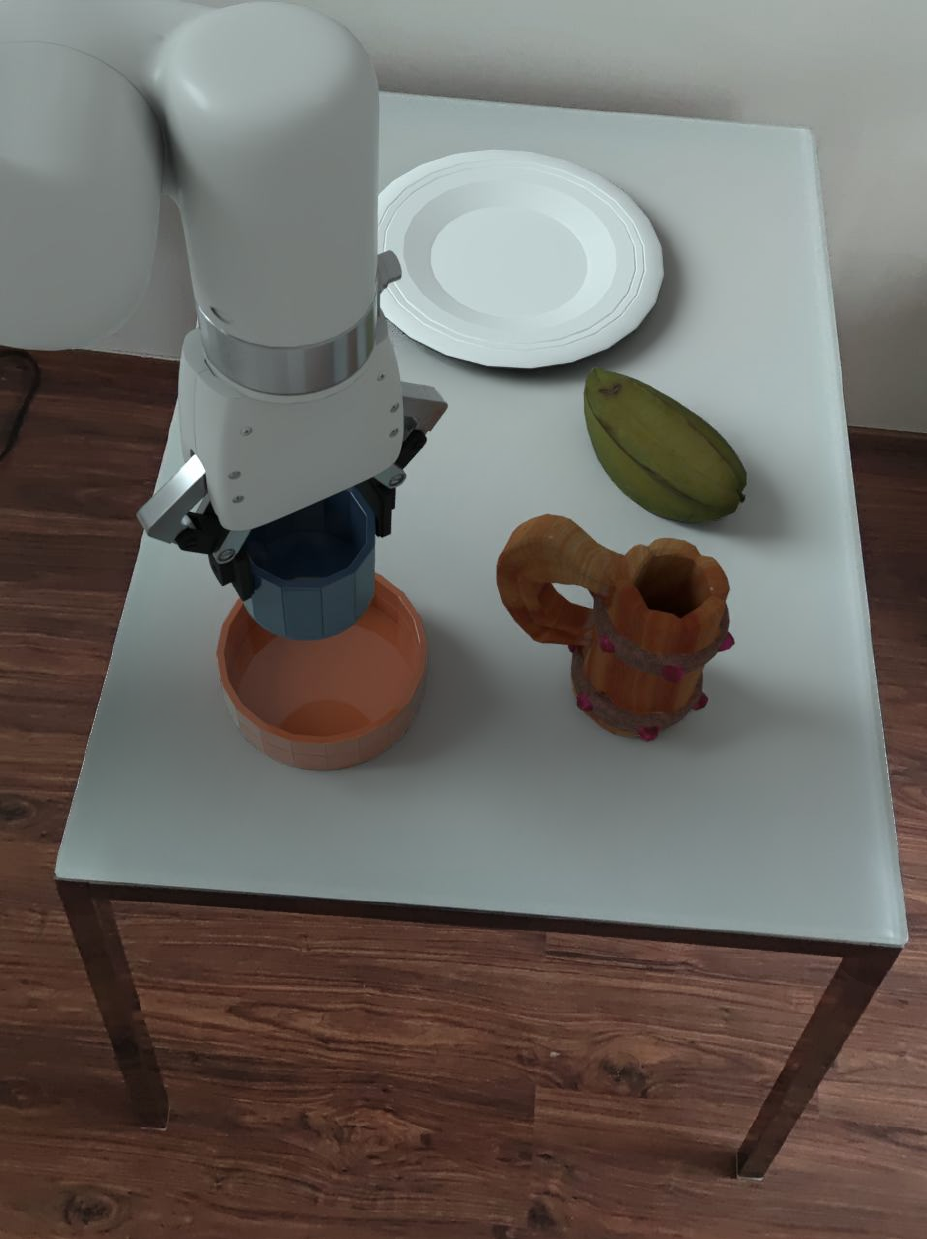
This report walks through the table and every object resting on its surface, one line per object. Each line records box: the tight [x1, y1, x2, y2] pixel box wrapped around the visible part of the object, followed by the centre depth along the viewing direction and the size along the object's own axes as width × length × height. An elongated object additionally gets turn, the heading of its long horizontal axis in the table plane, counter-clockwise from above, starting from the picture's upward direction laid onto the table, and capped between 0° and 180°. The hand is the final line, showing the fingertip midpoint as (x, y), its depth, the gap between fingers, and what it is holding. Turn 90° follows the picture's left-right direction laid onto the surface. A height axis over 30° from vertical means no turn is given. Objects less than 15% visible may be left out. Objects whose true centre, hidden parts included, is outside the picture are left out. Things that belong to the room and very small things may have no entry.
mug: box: [495, 513, 736, 743], centre depth 74 cm, size 15×8×15 cm, turn 65°
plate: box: [378, 149, 665, 371], centre depth 99 cm, size 25×25×2 cm
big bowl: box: [215, 572, 429, 771], centre depth 78 cm, size 13×13×4 cm
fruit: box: [583, 366, 748, 523], centre depth 87 cm, size 11×12×7 cm
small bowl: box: [242, 486, 376, 641], centre depth 67 cm, size 8×8×6 cm
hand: (305, 547), depth 66 cm, fingers closed on small bowl, 7 cm apart
